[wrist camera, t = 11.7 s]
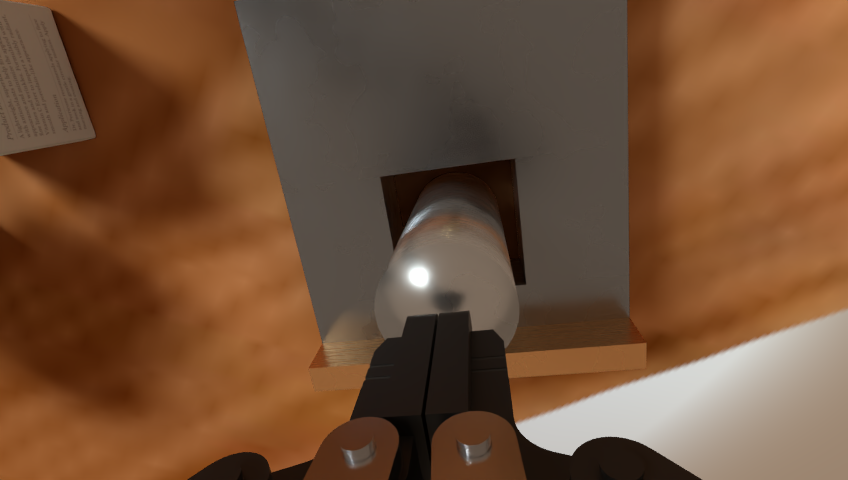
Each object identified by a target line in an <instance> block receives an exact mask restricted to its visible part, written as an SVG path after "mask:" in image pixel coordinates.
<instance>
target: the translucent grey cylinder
mask: <svg viewBox="0 0 848 480" xmlns="http://www.w3.org/2000/svg"><path fill="white" fill-rule="evenodd" d="M374 310H375V317H376V321H377V325H378V328H379V330H380V332H381V334H382V336H383V338H384V339H385V340H386V339H387V338H395V337H402V333H403V329H404V326H405V322H406V319H407V316H414V315H425V314H438V316H439V313H447V312H458V311H470V316H471V323H472V331H479V330H491V329H493V330H494V331H495V332H496V333H497V334H498V335H499V336H500V337H501V338H502V339H503V340H504V346H505V348H506V347H507V346H508V345H509V343H510V342H511V340H512V338H513V336H514V334H515V332H516V329H517V325H518V321H519V301H518V295H517V291H516V286H515V282H514V277H513V272H512V268H511V263H510V258H509V254H508V249H507V245H506V240H505V235H504V231H503V226H502V222H501V217H500V212H499V208H498V203H497V200H496V197H495V195H494V193H493V191H492V190H491V188H490V187H489V186H488V185H487V184H486V183H485V182H484V181H483V180H481V179H480V178H478V177H476V176H474V175H471V174H468V173H463V172H451V173H446V174H443V175H440V176H438V177H436V178H435V179H433V180H432V181H430V182H429V183H428V184H427V185H426V186H425V187H424V189H423V190H422V192H421V194H420V196H419V198H418V200H417V202H416V204H415V206H414V209H413V211H412V213H411V215H410V217H409V220H408V222H407V224H406V226H405V228H404V230H403V233H402V235H401V237H400V239H399V241H398V243H397V246H396V248H395V250H394V252H393V254H392V256H391V259H390V261H389V263H388V265H387V267H386V270H385V272H384V274H383V276H382V278H381V280H380V283H379V285H378V288H377V291H376V295H375V305H374Z"/></svg>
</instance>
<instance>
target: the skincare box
mask: <svg viewBox="0 0 848 480" xmlns="http://www.w3.org/2000/svg"><path fill="white" fill-rule="evenodd" d="M95 137H96V134H95V131H94V129H93V126H92V123H91V120H90V118H89V115H88V112H87V110H86V107H85V104H84V101H83V99H82V96H81V93H80V90H79V88H78V85H77V82H76V79H75V77H74V74H73V71H72V68H71V66H70V63H69V60H68V57H67V54H66V51H65V49H64V46H63V43H62V40H61V38H60V35H59V32H58V29H57V26H56V24H55V21H54V18H53V15H52V12H51V10H50V9H49V8H48V7H43V6H38V5H31V4H25V3H18V2H11V1H5V0H0V156H2V155H8V154H13V153H18V152H24V151H29V150H35V149H41V148H47V147H52V146H58V145H63V144H68V143H74V142H79V141H84V140H89V139H93V138H95Z"/></svg>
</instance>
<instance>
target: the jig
mask: <svg viewBox="0 0 848 480" xmlns="http://www.w3.org/2000/svg"><path fill="white" fill-rule="evenodd" d="M234 4H235V8H236V12H237V16H238V19H239V23H240V27H241V31H242V35H243V39H244V42H245V46H246V50H247V54H248V58H249V62H250V66H251V69H252V73H253V77H254V81H255V85H256V89H257V93H258V96H259V100H260V104H261V108H262V112H263V116H264V120H265V123H266V127H267V131H268V135H269V139H270V143H271V147H272V150H273V154H274V158H275V162H276V166H277V170H278V174H279V177H280V181H281V185H282V189H283V193H284V197H285V200H286V204H287V208H288V212H289V216H290V220H291V224H292V227H293V231H294V235H295V239H296V243H297V247H298V251H299V254H300V258H301V262H302V266H303V270H304V274H305V278H306V281H307V285H308V289H309V293H310V297H311V301H312V305H313V308H314V312H315V316H316V320H317V324H318V328H319V331H320V335H321V339H322V343H323V344H322V345H321V347H320V349H319V351H318V352H317V354H316V356H315V358H314V360H313V361H312V363H311V365H310V367H309V372H310V376H311V380H312V383H313V387H314V390H315V391H328V390H342V389H357V388H362V385H363V382H364V380H365V376H366V374H367V371H368V368H370V363H371V360H372V357H373V354H374V351H375V350H376V349H377V348H378V347H379V346H380V345H381V344H382V343H383V342H384V341H385V339H384V338H383V336H382V334H381V332H380V330H379V328H378V325H377V321H376V317H375V310H374V305H375V295H376V291H377V288H378V285H379V283H380V280H381V278H382V276H383V274H384V272H385V270H386V267H387V265H388V263H389V261H390V259H391V256H392V254H393V252H394V250H395V248H396V246H397V243H398V241H399V239H400V237H401V235H402V233H403V225H402V219H401V214H400V208H399V202H398V197H397V191H396V185H395V180H394V175H396V174H404V173H411V172H418V171H426V170H433V169H441V168H448V167H455V166H463V165H470V164H477V163H485V162H492V161H499V160H507V159H510V165H511V176H512V186H513V197H514V208H515V219H516V230H517V241H518V252H519V259H512V260H510V263H511V268H512V272H513V277H514V282H515V286H516V291H517V295H518V301H519V321H518V325H517V329H516V332H515V334H514V336H513V338H512V340H511V342H510V343H509V345H508V346H507V347H506V348H505V354H506V362H507V370H508V377H509V378H518V377H533V376H548V375H562V374H577V373H592V372H606V371H621V370H636V369H646V346H647V343H646V341H645V340H644V338H643V337H642V335H641V334H640V333H639V331H638V330H637V328H636V327H635V325H634V324H633V322H632V321H631V319H630V318H629V187H628V54H627V0H238V1H234Z"/></svg>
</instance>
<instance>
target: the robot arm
mask: <svg viewBox="0 0 848 480" xmlns="http://www.w3.org/2000/svg"><path fill="white" fill-rule="evenodd" d="M188 480H701V479H700V478H698V477H697V476H695V475H694V474H692V473H690V472H689V471H687V470H685V469H684V468H682V467H680V466H679V465H677V464H675V463H674V462H672V461H670V460H669V459H667V458H666V457H664V456H662V455H661V454H659V453H657V452H656V451H654V450H652V449H650V448H648V447H647V446H645V445H643V444H641V443H638V442H636V441H633V440H629V439H626V438H619V437H601V438H596V439H592V440H590V441H587V442H585V443H584V444H582V445H581V446H580V447H578V448H577V449H576V451H575V452H574V453H573V455H572V456H570V455H565V454H561V453H556V452H552V451H549V450H546V449H543V448H540V447H538V446H536V445H535V444H533V443H531V442H530V441H529V440H527V439H526V438H525V437H524V436H523V435H522V434H521V433H520V432H519V430H518V429H517V427H516V424H515V421H514V417H513V409H512V401H511V393H510V385H509V377H508V370H507V362H506V354H505V346H504V340H503V339H502V338H501V337H500V336H499V335H498V334H497V333H496V332H495V331H494V330H493V329H491V330H479V331H472V323H471V316H470V311H458V312H447V313H439V316H438V314H425V315H414V316H407V319H406V322H405V326H404V329H403V333H402V337H395V338H387V339H386V340H385V341H384V342H383V343H382V344H381V345H380V346H379V347H378V348H377V349H376V350H375V351H374V354H373V357H372V360H371V363H370V368H368V371H367V374H366V376H365V380H364V382H363V385H362V388H361V390H360V393H359V396H358V399H357V402H356V404H355V407H354V410H353V413H352V415H351V418H350V421H348V422H346V423H344V424H342V425H340V426H338V427H337V428H336V429H334V430H333V431H332V432H331V433H330V434H329V435H328V436H327V437H326V438H325V439H324V440H323V442H322V444H321V445H320V447H319V449H318V451H317V453H316V455H315V457H314V459H312V460H310V461H307V462H305V463H302V464H298V465H295V466H292V467H289V468H285V469H282V470H279V471H276V472H272V473H271V470H270V467H269V464H268V462H267V460H266V459H265V458H264V457H263V456H261V455H259V454H257V453H252V452H243V453H237V454H233V455H229V456H227V457H224V458H222V459H220V460H218V461H216V462H214V463H212V464H211V465H209V466H207V467H206V468H204V469H203V470H201V471H200V472H198V473H197V474H195V475H194V476H192V477H191V478H189V479H188Z"/></svg>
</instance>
